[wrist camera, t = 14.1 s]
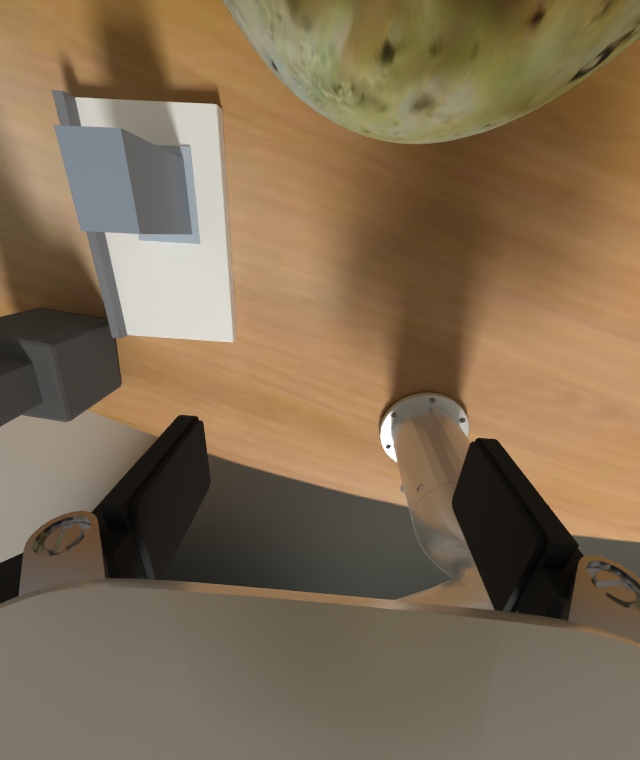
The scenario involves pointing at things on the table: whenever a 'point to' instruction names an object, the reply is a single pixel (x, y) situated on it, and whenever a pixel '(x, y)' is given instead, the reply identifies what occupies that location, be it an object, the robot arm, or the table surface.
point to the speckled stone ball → (433, 58)
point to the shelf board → (167, 251)
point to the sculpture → (55, 364)
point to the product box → (124, 182)
